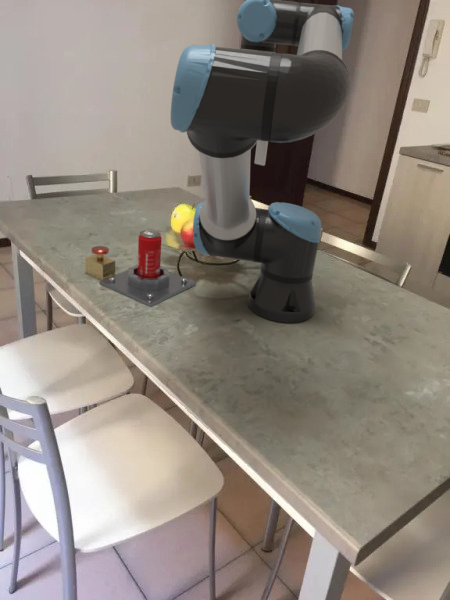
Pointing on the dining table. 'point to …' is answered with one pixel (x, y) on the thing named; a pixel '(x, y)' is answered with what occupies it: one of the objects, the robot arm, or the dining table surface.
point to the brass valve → (100, 263)
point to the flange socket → (147, 285)
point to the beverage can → (149, 254)
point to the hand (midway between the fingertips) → (244, 167)
